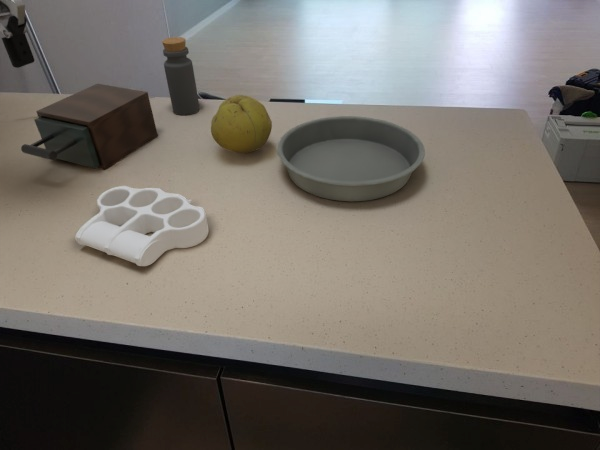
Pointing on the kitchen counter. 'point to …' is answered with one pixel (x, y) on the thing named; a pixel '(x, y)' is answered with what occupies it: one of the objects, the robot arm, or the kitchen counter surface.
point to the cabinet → (108, 119)
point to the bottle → (180, 77)
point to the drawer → (63, 142)
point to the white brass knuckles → (143, 224)
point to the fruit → (241, 124)
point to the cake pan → (350, 157)
